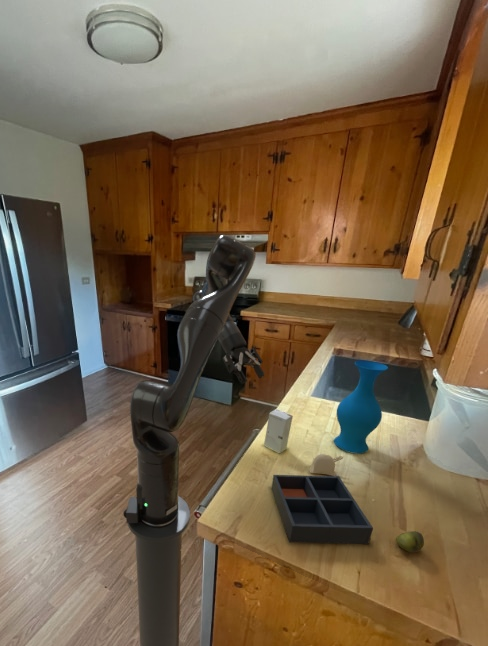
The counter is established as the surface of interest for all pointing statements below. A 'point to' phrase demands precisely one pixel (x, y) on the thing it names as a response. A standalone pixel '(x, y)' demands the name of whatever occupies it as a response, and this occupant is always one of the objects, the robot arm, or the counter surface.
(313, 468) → the decorative ornament
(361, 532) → the grid
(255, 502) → the counter surface
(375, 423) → the vase
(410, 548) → the lime
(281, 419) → the cosmetic box
